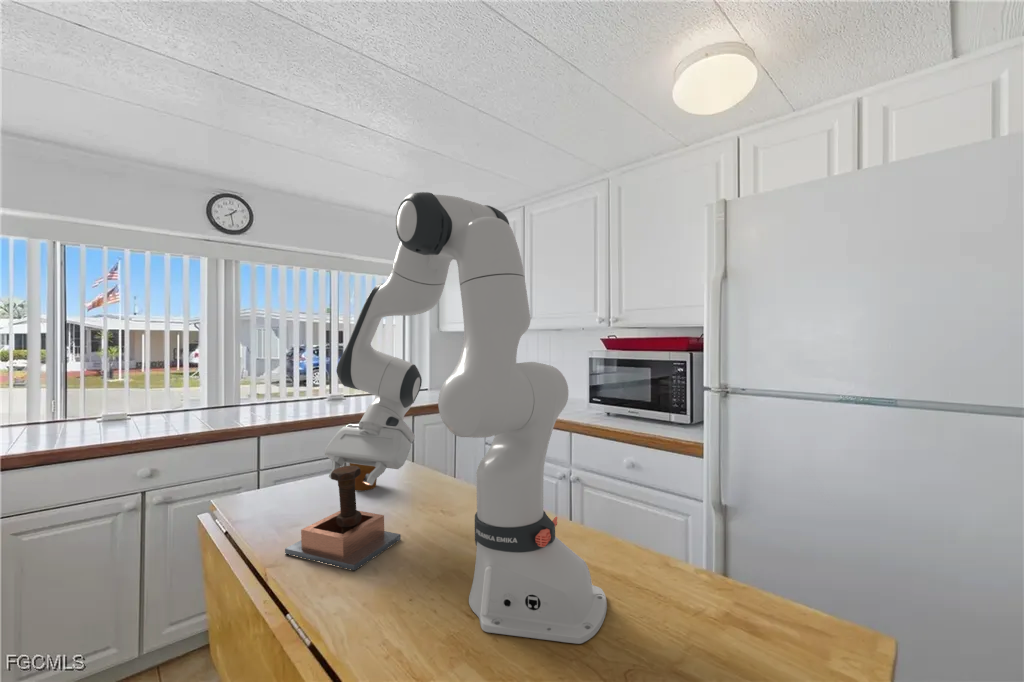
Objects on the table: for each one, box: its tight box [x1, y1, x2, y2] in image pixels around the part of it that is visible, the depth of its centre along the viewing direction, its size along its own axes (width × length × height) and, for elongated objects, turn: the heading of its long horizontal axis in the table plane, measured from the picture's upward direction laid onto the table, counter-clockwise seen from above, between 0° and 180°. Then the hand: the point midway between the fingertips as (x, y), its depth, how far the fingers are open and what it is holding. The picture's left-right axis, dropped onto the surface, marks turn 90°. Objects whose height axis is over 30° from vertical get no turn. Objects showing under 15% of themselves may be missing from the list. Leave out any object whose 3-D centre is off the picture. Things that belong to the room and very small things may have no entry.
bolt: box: [330, 465, 362, 534], centre depth 95 cm, size 6×5×15 cm
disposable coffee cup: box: [349, 463, 378, 492], centre depth 132 cm, size 10×10×12 cm
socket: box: [284, 509, 402, 571], centre depth 95 cm, size 18×14×5 cm
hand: (349, 481), depth 97 cm, fingers open, 8 cm apart
